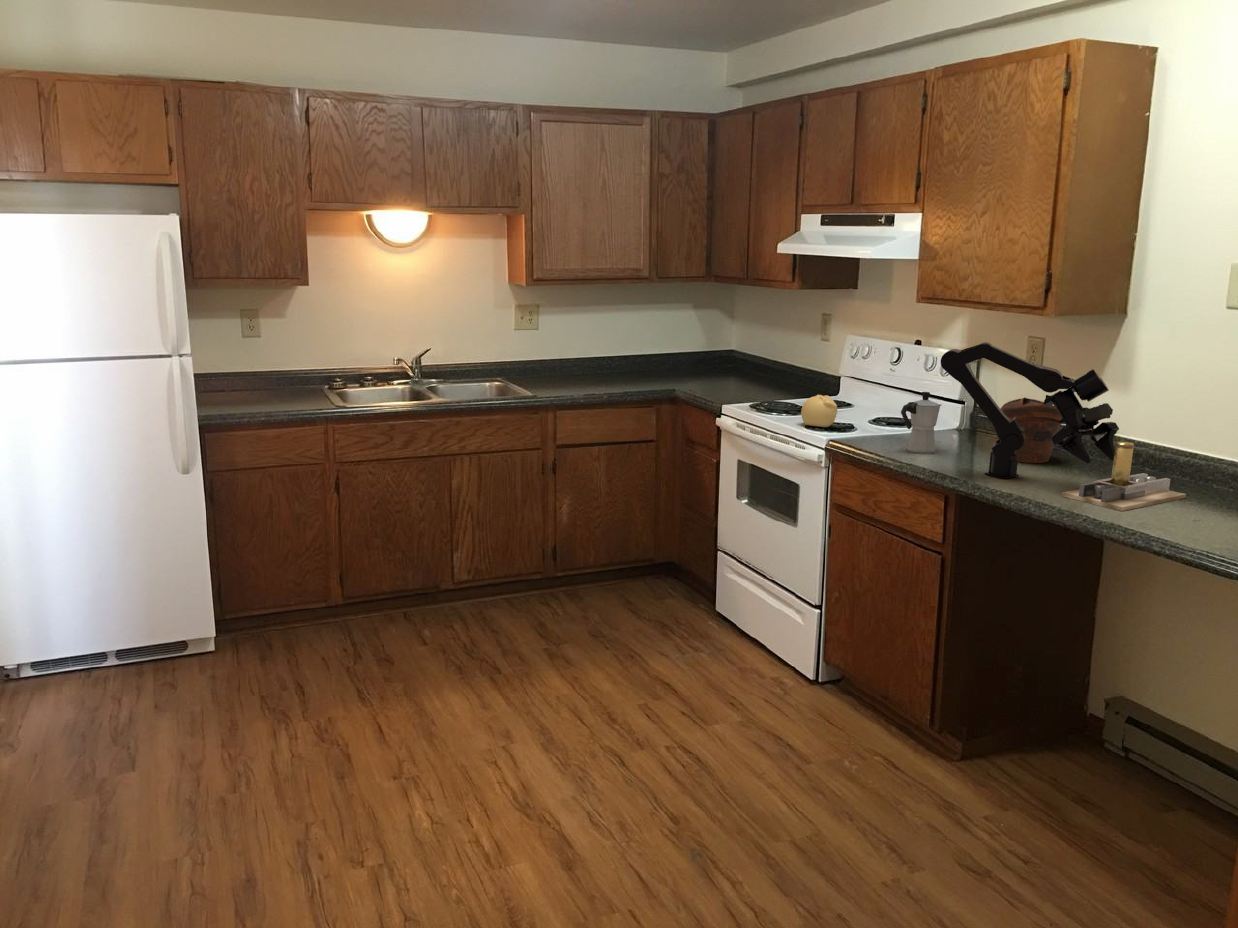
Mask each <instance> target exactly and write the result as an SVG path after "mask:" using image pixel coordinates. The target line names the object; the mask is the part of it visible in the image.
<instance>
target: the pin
mask: <svg viewBox="0 0 1238 928" xmlns="http://www.w3.org/2000/svg"><path fill="white" fill-rule="evenodd" d="M1114 445H1115V446H1114V450H1115V454H1114V461H1112V462H1113V464H1112V468H1111V469H1112V470H1111V477H1110V478H1111V483H1112V484H1116V485H1120V486H1128V485H1129V477H1130V475H1131V469H1132V461H1133V454H1134V448H1135V444H1134V443H1133V442H1130V441H1129V442H1128V441H1116V442H1115V444H1114Z"/></svg>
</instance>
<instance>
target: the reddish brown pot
mask: <svg viewBox="0 0 1238 928" xmlns="http://www.w3.org/2000/svg"><path fill="white" fill-rule="evenodd" d="M1043 402H1044V401H1042V400H1038V399H1034V398H1028V397H1026V396H1025V397H1023V398H1022V397H1021V398H1017V399H1013V400H1009V401H1007V402H1005V403H1004V404H1003V405H1002V406H1001V407H999V408H1000V409H1001V410H1002V412H1003V413H1004V414H1005V415H1006V416H1007V417H1008V418H1010V419H1011V420H1012V419H1013V418H1014V417H1016V418H1017V420H1018V422H1019V423H1020V425H1021V426H1023V427H1024V428H1025V429H1024V432H1025V435H1026V437H1025V441H1024V444H1023V446H1022V447H1021V448H1020V449H1018V450H1016V451H1015V452H1014V454H1015V455H1017V461H1018V462H1019V463H1029V464H1037V463H1038V464H1042V463H1047V462H1049V460H1050V459H1051V454H1052V451H1053V449H1054V447H1055V446H1054V444H1053V442H1052V435H1053V434H1054V433H1056V432H1057V431H1058V430H1059V429H1060V428H1061V427H1060V426H1061V425H1062V424H1061V423H1060V422H1059V421H1060V420H1061V419H1062V418H1061V416H1060V415H1059V413H1058V411H1057V410H1056V408H1055V406H1054V405H1052V406H1050V407H1047V406H1046V405H1044V404H1043Z"/></svg>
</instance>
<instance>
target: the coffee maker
mask: <svg viewBox="0 0 1238 928" xmlns="http://www.w3.org/2000/svg"><path fill="white" fill-rule="evenodd" d="M930 394H931V392H929V391H922V392H921V397H922V399H920V400H915V401H909V402H907V403H906V404H905V405H903V406H902V409H901V410H900V414H901V416H902V419H903V421H904V423H905V426H906V428H907V430H911V432H910V436H909V438H908V439H909V441H908V444H907V448H906V451H908V452H911V453H913V454H915V453H916V454H923V455H924V454H925V455H926V454H935V453H936V442H935V441H936V439H935V427H936V425H937V422H938V417H939V412H940V408H941V406H942V404H939V403H938V402H935V401H932V400H929V398H930ZM907 412H908V413H910V419H909V417H908V415H907Z"/></svg>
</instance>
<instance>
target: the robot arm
mask: <svg viewBox="0 0 1238 928" xmlns="http://www.w3.org/2000/svg"><path fill="white" fill-rule="evenodd" d="M981 359H985V360H987V361H990V362H992V363H994V364H996V365H998V366H1000V367H1003V368H1004V369H1007V370H1009V371H1011V372H1013V373H1016V374H1018V375H1019V376H1022V377H1023V378H1026V379H1027V380H1028V381H1029V382H1031V383H1032V384H1033V385H1034V386H1036V387H1037V388H1039V390H1040V389H1041V390H1042V391H1043V392H1045V393H1049V394H1051V393H1054V394H1052V395H1048V394H1046V395H1045V399H1044V400H1043V401H1042V402H1043V404H1044V405H1046V406H1047V407H1050V406H1052V405H1053V406H1055V408H1056V410H1057V411H1058V413H1059V415H1060V416H1061V418H1062V419H1061V420H1060V421H1059V422H1060V423H1061V425H1062V426H1061V427H1060V428H1059V430H1058V431H1057V432H1056V433H1054V434H1053V435H1052V442H1053V444H1054V446H1053V447H1059V449H1062V450H1065V451H1066V452H1068V453H1069V454H1071V455H1073V456H1074V457H1076V458H1077V459H1078V460H1079V459H1080V460H1081V461H1082V462H1084V463H1086V464H1090V463H1091V462H1092V460H1091V458H1090V456H1089V454H1088V451H1087V450H1086V448H1085V446H1084V443H1083V438H1088V437H1089V438H1090V439H1091V441H1092V442H1094V443H1093V444H1094V446H1096V447H1097V448H1098V449H1099V450H1100V451H1101V452H1102V453H1103V455H1105V456H1106V457H1107V458H1108V459H1110V461H1111V462H1113V461H1114V454H1115V446H1114V445H1115V444H1114V437H1115V435H1116V434H1117V433H1118V431H1119V430H1120V428H1119V426H1118V424H1117V422H1115V421H1103V422H1101V423H1100V422H1099V421H1101V420H1104V419H1110V418H1111V416H1112V415H1113V411H1114V409H1113V408H1112V407H1111V405H1110V404H1109V403H1102V404H1098V405H1096V406H1093V407H1090V408H1089V407H1083V405H1082V404H1081V402H1080V400H1081V401H1087V402H1092V401H1093V400H1094V399H1097V398H1098V397H1100V396H1101V395H1104V394H1105V393H1107V392H1109V387H1108V386H1107V385H1106V383H1105V381H1104V380H1103V378H1102V377H1100V376H1099V374H1098V373H1097V372H1096V370H1095V369H1094V368H1092V369H1090V370H1088V371H1087V372H1086V373H1084V374H1083V375H1081V376H1079V377H1078V378H1075V379H1074V378H1072V377H1068V376H1065V375H1063V374H1062V372H1061V371H1060V370H1058V369H1057V368H1053V367H1049V366H1045V365H1041V364H1037V363H1036V364H1035V363H1032V362H1030V361H1027V360H1025V359H1023V358H1021V357H1019V356H1016V355H1014V354H1012V353H1010V352H1008V351H1006V350H1003V349H1001V348H1000V347H997V346H995V345H992V344H991V343H990V342H988V341H982V342H981V343H979V344H977V345H974V346H970V347H967V348H964V349H961V350H960V349H958V348H957V349H956V348H952V349H950V350H947V351H945V352H944V353H943V355H942V356H941V358H940V366H941V368H942V369H943V370H944V371H945V372H946V373H947V374H948V375H949V376H951V377H952V378H953V379H954V380H956V381H957V382H958V383H960V384H961V385H962V386H963V388H964V389H965V391H966V392H967V393H968V394H969V396H970V397H971V398H972V399H973V401H974V402H975V404H976V405H977V406H978V408H979V409H980V410H981V411H982V413H983V414H984V415H985V417H986V418H987V419H988V420H989V422H990V423H991V424H992V426H993V428H994V431H995V433H996V437H997V438H998V439H997V440H996V441H995V442H994V443H993V446H992V447H991V450H992V451H990V455H989V463H988V464H989V466H988V471H984V475H986V476H991V477H995V478H999V479H1003V480H1005V479H1011V478H1017V477H1019V476H1020V474H1017V473H1018V472H1017V471H1018V461H1017V455H1015V454H1014V452H1015V451H1016V450H1018V449H1020V448H1021V447H1022V446H1023V444H1024V441H1025V437H1026V435H1025V432H1024V429H1025V428H1024V427H1023V426H1021V425H1020V423H1019V422H1018V420H1017V418H1016V417H1014V418H1013V419H1012V420H1011V419H1010V418H1008V417H1007V416H1006V415H1005V414H1004V413H1003V412H1002V410H1001V409H1000V408H1001V407H1000V406H999V405H998V404H997V402H996V401H995V400H994V399H993V397H992V396H991V395H990V394H989V392H988V391H987V390H986V388H985V387H984V386H983V385H982V383H981V382H980V381H979V379H978V378H977V377H976V375H975V374H974V372H973V369H972V367H971V364H970V363H972V362H976V361H978V360H981ZM1062 390H1063V391H1062ZM1075 393H1076V394H1075ZM1077 396H1078V397H1079V399H1080V400H1079V399H1078V398H1077ZM1099 423H1100V424H1099ZM1098 424H1099V425H1098ZM1097 425H1098V426H1097ZM1095 426H1096V427H1095Z"/></svg>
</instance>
